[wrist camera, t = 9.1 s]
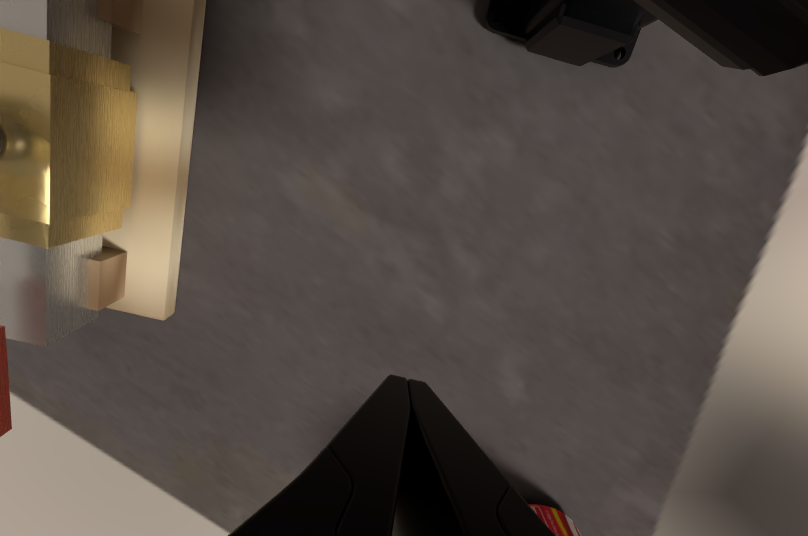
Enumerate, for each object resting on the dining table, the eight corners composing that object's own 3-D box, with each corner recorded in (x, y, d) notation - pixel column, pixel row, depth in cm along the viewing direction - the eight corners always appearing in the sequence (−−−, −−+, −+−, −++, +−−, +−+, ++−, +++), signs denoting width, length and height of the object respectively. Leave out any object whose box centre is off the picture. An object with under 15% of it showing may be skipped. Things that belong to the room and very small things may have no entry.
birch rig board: (12, -85, 16) (-65, -132, 14) (209, -28, 17) (172, -62, 14) (18, 277, 21) (-40, 296, 18) (174, 312, 21) (141, 336, 19)
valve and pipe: (29, -91, 15) (-163, -213, 10) (146, -56, 16) (19, -158, 10) (31, 293, 20) (-101, 346, 14) (123, 314, 20) (25, 372, 15)
